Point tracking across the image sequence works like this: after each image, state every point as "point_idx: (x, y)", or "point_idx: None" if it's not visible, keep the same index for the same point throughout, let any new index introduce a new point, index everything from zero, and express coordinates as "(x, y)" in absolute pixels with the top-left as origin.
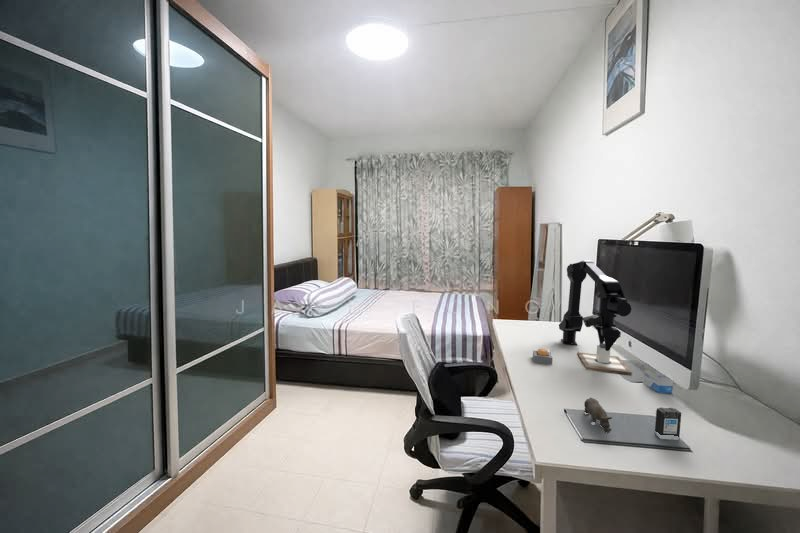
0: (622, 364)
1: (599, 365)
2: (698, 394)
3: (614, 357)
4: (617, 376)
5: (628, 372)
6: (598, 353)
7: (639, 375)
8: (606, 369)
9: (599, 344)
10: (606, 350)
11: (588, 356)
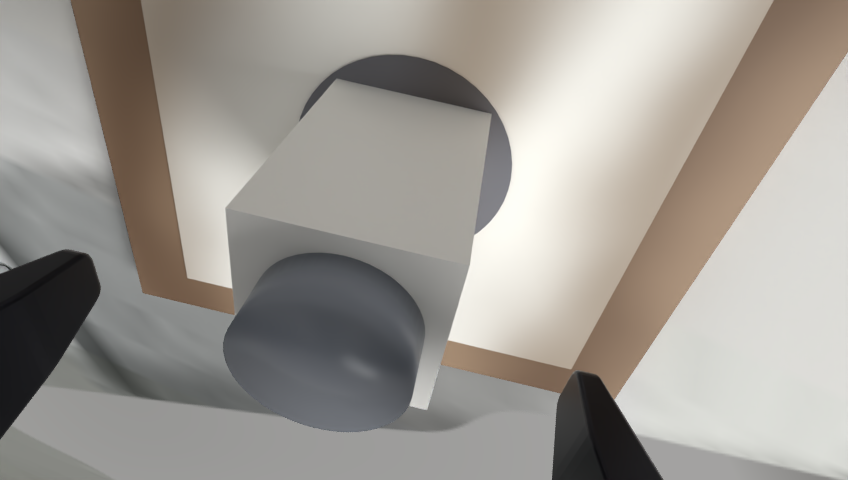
0: None
1: (193, 29)
2: (25, 435)
3: (570, 361)
4: (28, 122)
5: (139, 267)
6: (328, 147)
7: (180, 325)
8: (90, 67)
9: (343, 299)
10: (67, 261)
11: (615, 29)
